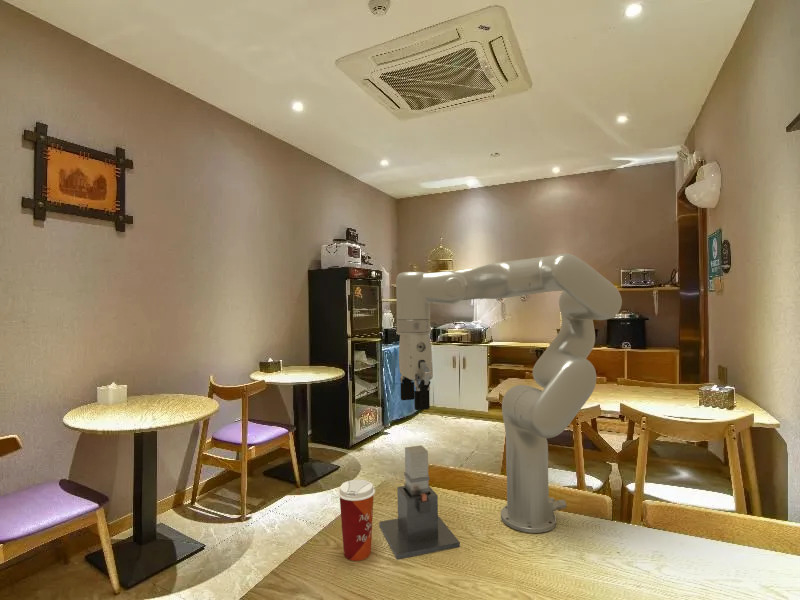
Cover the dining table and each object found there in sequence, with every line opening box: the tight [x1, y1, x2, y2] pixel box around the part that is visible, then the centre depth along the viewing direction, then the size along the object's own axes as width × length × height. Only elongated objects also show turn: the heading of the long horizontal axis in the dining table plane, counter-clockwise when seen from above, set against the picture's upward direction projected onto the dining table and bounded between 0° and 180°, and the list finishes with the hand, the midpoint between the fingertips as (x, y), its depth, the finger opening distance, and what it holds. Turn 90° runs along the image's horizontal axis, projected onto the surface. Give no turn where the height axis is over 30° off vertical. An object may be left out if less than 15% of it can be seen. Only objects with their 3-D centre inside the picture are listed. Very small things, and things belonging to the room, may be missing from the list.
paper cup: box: [337, 479, 376, 562], centre depth 91 cm, size 8×8×14 cm
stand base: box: [378, 484, 461, 560], centre depth 97 cm, size 14×14×11 cm
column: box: [403, 445, 430, 497], centre depth 97 cm, size 4×4×18 cm
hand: (414, 404), depth 97 cm, fingers open, 9 cm apart
